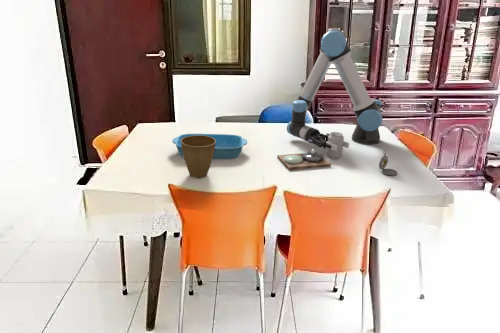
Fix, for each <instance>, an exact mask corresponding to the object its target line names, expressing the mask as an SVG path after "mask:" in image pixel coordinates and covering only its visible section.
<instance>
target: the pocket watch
mask: <svg viewBox="0 0 500 333" xmlns="http://www.w3.org/2000/svg"><path fill="white" fill-rule="evenodd" d="M378 163H379V165H378V167H379V170H381V173H382V174H384V175H387V176H396V175H397V174H398V171H397V170H396V169H392V168H386V167H387V166H388V164H389V157H388V155H387V151H384V152H383V156H382V157H381V158H380V160H379V162H378Z"/></svg>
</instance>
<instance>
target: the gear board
mask: <svg viewBox="0 0 500 333" xmlns="http://www.w3.org/2000/svg"><path fill="white" fill-rule="evenodd" d="M316 152H317V153H318V151H316ZM302 153H303V152H302ZM302 153H292V154H291V153H290V154H289V153H287V154H278V155H276V156H277V158H276V159H278V161H279V162H280V163H281V164H282V165H283V167H285V169H287V170H288V171H297V170H298V171H299V170H310V169H319V168H320V169H321V168H331V167H332V163H331V162H330V161H329V160H328V159H326V158H325V157H324V158H323V161H319V162H318V163H315V162H307V161H305V160H302V162H301V163H299V164H290V163H286V162H284V160H283V158H284V156H287V155H297V156H300V157H302ZM318 154H320V153H318Z"/></svg>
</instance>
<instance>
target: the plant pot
mask: <svg viewBox="0 0 500 333" xmlns="http://www.w3.org/2000/svg"><path fill="white" fill-rule="evenodd" d="M215 144H216V140H215V139H214V138H212V137H209V136H203V135H194V136H187V137H184V138H182V139H181V146H182V152H183V156H184V157H183V156H182V157H183V159H184V162H185V165H186V168H187V171H188V173H189V175H190V176H191V177H192V178H195V179H202V178H206V177H207V176H208V173H209V170H210V168H211V164H212V162H213V160H214V159H213V155H214V150H215Z"/></svg>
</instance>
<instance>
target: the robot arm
mask: <svg viewBox="0 0 500 333" xmlns="http://www.w3.org/2000/svg"><path fill="white" fill-rule="evenodd" d="M346 36H347V35H346V34H345V33H344V32H343V30H341V29H339V28H332V29H329V30H328V31H326V33H324V34H323V36H322V37H321V40H320V49H319V52H320V53H319V55H318V57H317V59H316V62H315V63H314V65H313V68H312V69H311V71H310V74H309V76H308V78H307V80H306V81H305V84H304V86H303V88H302V90H301V93H300V94H299V96H298V98H297V99H296V100H293V101H292V107H291V121H289V122H287V125H286V131H287V133H288V134H290V135H291V136H293V137H296V138H299V139H302V140H304V141H305V142H308V143H309V144H312V145H314V146H316V147H317V148H318V147H319V148H322V149H324V150H327V148H329V149H331V150H334V151H337V147H338V146H337V145H334V144H332V143H329V142H328V136H329V135H330V133H326V134H324V133H321V132H320V130H319V129H318V128H315V127H312V126H308V125H306V117H307V113H308V110H309V108H310V106H311V104H312V102H313V100H314V98H315V96H316V94H317V92H318V90H319V88H320V86H321V84H322V82H323V80H324V79H325V76H326V74H327V73H328V71H329V68H330V67H331V64H333V65H334V67H335V70H336V71H337V73H338V75H339V77H340V79H341V81H342V84H343V86H344V87H345V90H346V91H347V94H348V96H349V98H350V100H351V102H352V104H353V109H352V111H353V112H354V116H356V119H357V120H356V126H355V128H354V129H353V132H352V134H351V140H352V141H353V142H354V143H358V144H362V145H363V144H364V145H375V144H376V145H377V144H379V143H380V141H381V136H380V131H379V128H380V127H381V125H382V123H383V115H382V103H383V102H382V100H380V99H374V98H371V97H370V95H369V93H368V91H367V89H366V86H365V84H364V82H363V80H362V78H361V76H360V73H359V72H358V70H357V68H356V65H355V64H354V61H353V59H352V57H351V53H352V50H351V48H350V46H349V43H348V41H347V37H346ZM349 147H350V142H348V141H345V140H344V141H343V148H346V149H349Z"/></svg>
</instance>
